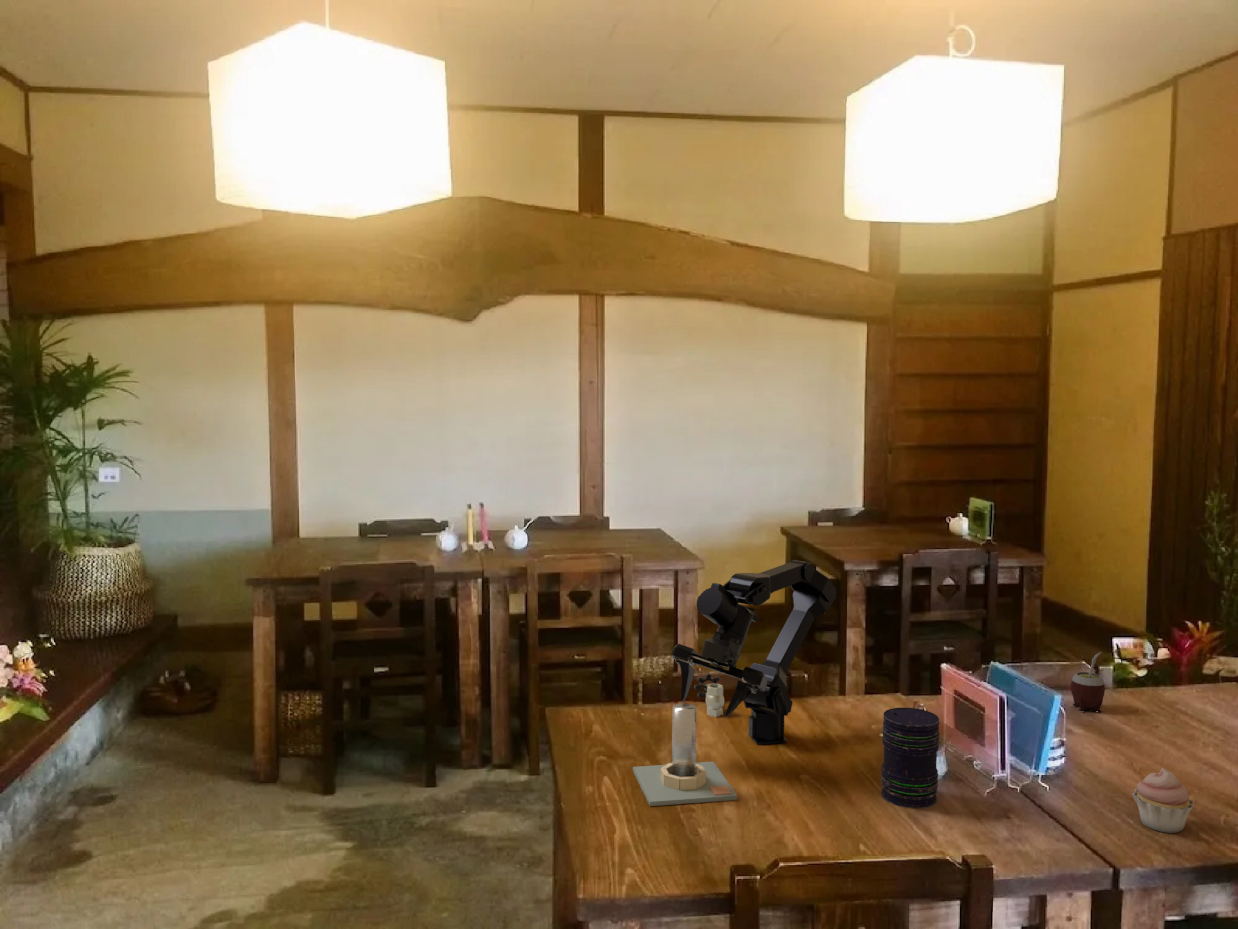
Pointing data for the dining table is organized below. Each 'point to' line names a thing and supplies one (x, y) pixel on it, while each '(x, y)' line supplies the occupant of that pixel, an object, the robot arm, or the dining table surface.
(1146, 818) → the cupcake
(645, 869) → the dining table surface
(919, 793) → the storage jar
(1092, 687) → the mate gourd
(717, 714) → the valve
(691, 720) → the silver metal cylinder
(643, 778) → the socket board
